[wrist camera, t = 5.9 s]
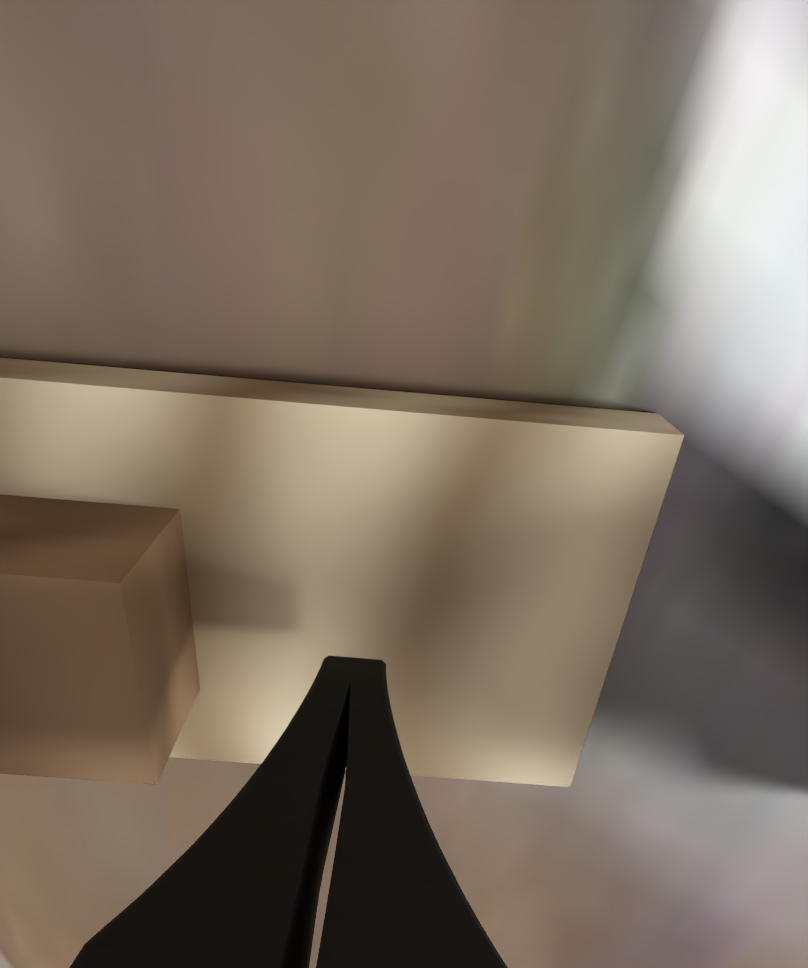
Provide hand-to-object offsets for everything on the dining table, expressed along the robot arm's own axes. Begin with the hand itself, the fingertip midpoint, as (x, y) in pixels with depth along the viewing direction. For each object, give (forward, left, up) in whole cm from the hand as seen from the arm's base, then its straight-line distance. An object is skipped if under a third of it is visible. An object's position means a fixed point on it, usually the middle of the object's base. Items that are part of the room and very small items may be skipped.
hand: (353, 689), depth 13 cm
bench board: (+1, +4, -4) cm, 6 cm away
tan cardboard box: (+3, +8, -2) cm, 9 cm away
